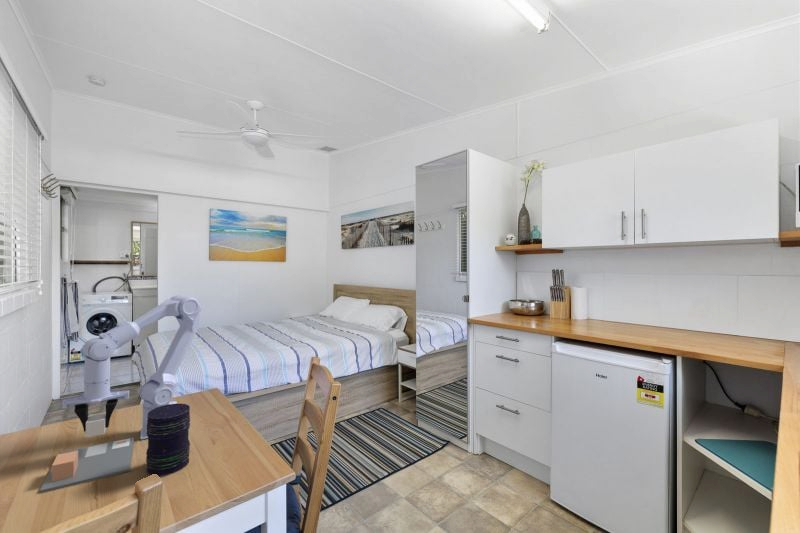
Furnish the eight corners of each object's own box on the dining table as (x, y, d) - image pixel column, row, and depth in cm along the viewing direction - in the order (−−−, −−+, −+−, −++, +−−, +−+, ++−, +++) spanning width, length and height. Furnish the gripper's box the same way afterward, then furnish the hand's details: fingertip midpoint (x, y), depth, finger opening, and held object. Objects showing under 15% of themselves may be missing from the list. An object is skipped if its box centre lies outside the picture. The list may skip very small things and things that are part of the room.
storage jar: (142, 480, 91) (143, 421, 91) (149, 460, 99) (149, 406, 99) (188, 470, 95) (189, 414, 95) (190, 452, 104) (191, 401, 104)
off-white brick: (107, 425, 106) (107, 412, 106) (104, 433, 101) (104, 419, 101) (89, 428, 104) (89, 414, 104) (85, 437, 99) (85, 422, 99)
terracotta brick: (78, 465, 95) (78, 450, 95) (73, 476, 90) (73, 461, 90) (57, 469, 93) (57, 454, 93) (51, 482, 88) (51, 465, 88)
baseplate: (134, 439, 111) (134, 436, 111) (129, 471, 94) (129, 468, 94) (59, 454, 102) (59, 451, 102) (39, 493, 85) (39, 490, 85)
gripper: (59, 389, 95) (58, 440, 96) (128, 380, 103) (127, 427, 104) (65, 381, 101) (64, 429, 101) (129, 373, 109) (129, 418, 109)
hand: (96, 428), depth 103 cm, fingers closed on off-white brick, 4 cm apart
